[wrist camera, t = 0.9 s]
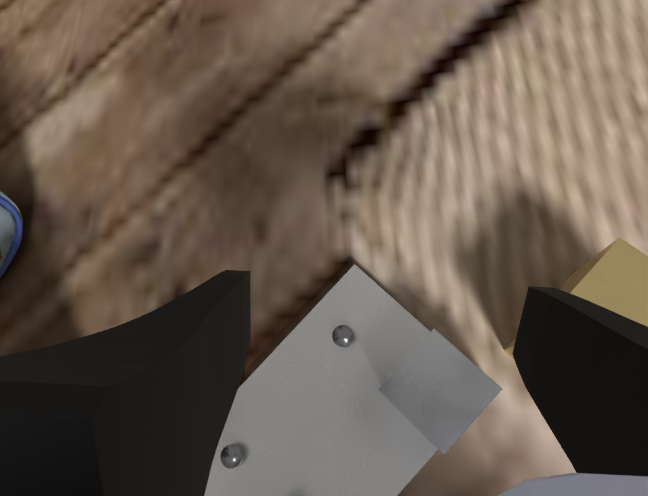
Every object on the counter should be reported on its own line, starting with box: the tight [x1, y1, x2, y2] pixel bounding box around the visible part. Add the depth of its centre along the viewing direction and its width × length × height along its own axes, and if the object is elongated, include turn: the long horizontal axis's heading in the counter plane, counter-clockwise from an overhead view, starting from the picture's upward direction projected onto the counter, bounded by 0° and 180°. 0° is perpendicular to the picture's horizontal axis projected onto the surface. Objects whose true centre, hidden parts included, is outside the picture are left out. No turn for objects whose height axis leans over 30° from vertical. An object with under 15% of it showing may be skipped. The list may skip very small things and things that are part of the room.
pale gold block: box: [505, 238, 648, 358], centre depth 20 cm, size 10×6×6 cm, turn 46°
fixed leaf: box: [204, 264, 502, 496], centre depth 23 cm, size 10×16×4 cm, turn 136°
